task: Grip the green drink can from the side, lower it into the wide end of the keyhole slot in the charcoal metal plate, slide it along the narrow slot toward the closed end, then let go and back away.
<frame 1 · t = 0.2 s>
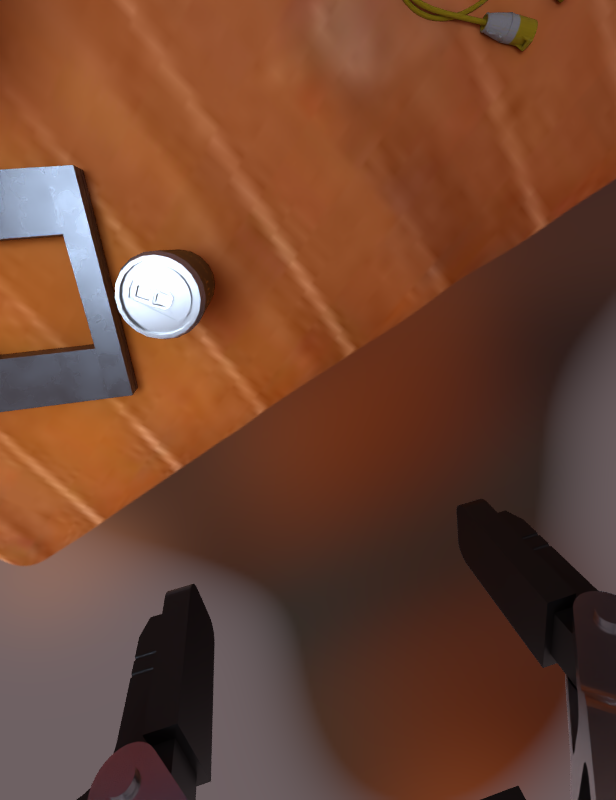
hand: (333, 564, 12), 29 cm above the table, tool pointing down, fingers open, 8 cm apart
green drink can: (184, 282, 35), on the table
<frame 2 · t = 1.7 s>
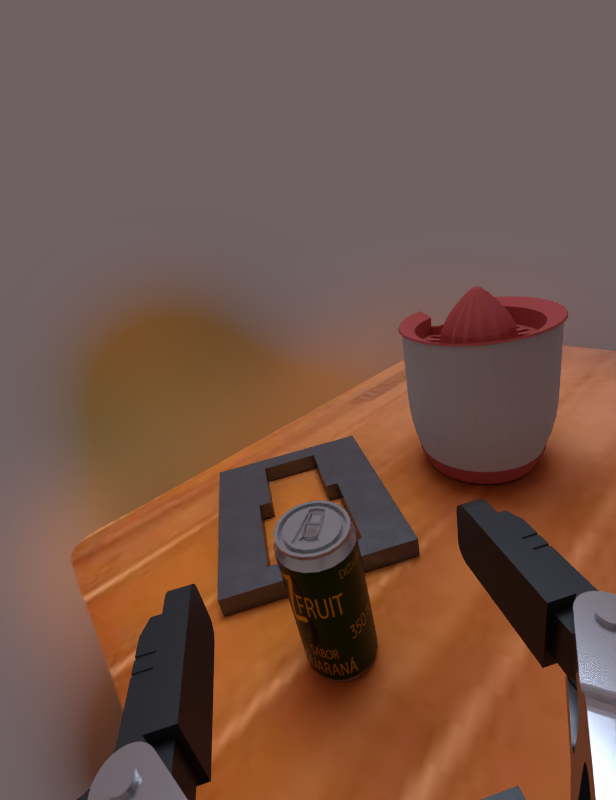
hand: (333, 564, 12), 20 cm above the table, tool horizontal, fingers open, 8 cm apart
keyhole plate: (303, 513, 45), on the table
citrus juicer: (476, 453, 49), on the table
green drink can: (342, 650, 30), on the table
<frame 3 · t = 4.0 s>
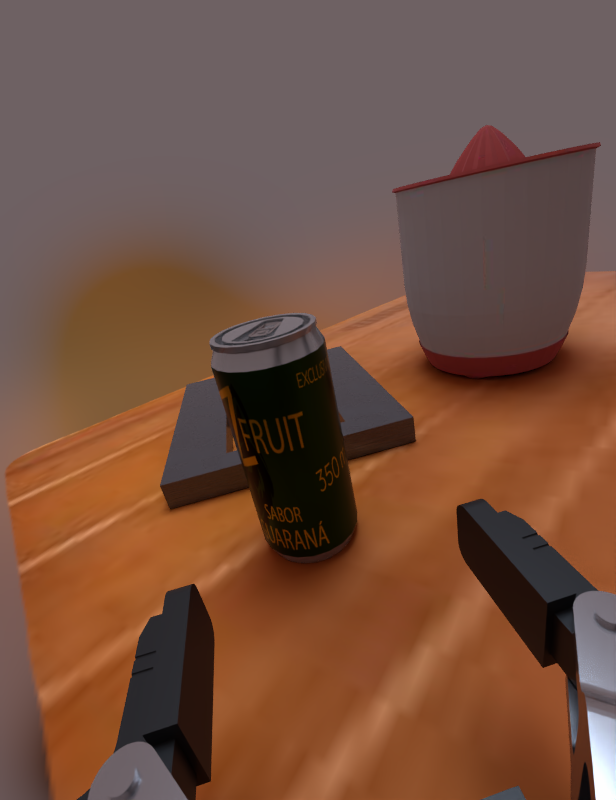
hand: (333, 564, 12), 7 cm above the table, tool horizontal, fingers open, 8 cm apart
keyhole plate: (279, 416, 38), on the table
citrus juicer: (484, 356, 41), on the table
green drink can: (313, 533, 23), on the table
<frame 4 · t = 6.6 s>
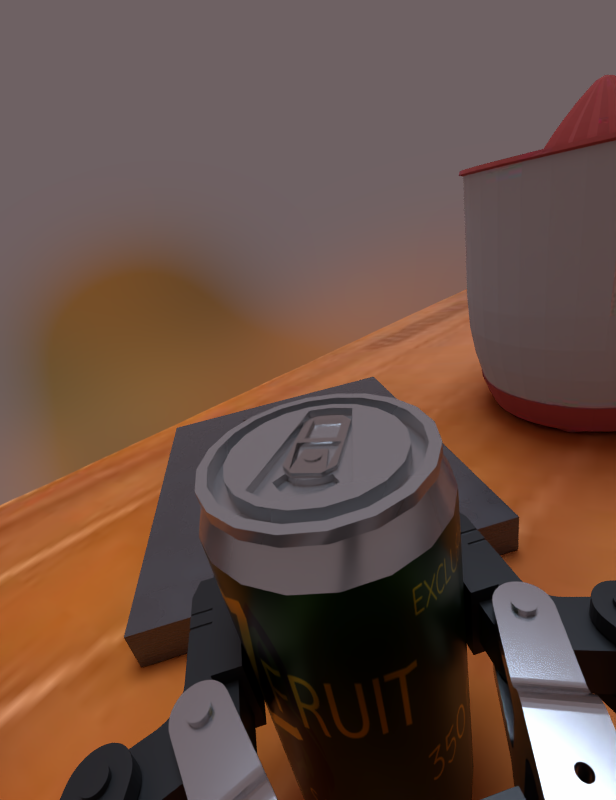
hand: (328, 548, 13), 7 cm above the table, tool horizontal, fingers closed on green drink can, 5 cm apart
keyhole plate: (301, 483, 28), on the table
citrus juicer: (568, 395, 31), on the table
green drink can: (384, 764, 13), on the table, touching gripper
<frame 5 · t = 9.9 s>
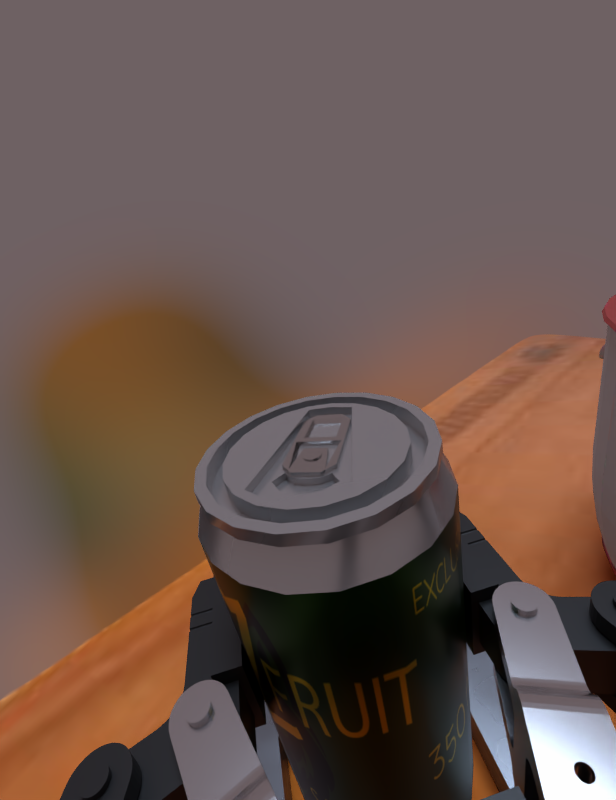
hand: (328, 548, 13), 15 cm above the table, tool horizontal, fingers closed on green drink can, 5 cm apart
keyhole plate: (379, 750, 20), on the table
green drink can: (385, 763, 13), point 8 cm above the table, touching gripper
when the fingers open (7 cm above the table, at t = 13.5 s): green drink can stays where it is, resting in keyhole plate.
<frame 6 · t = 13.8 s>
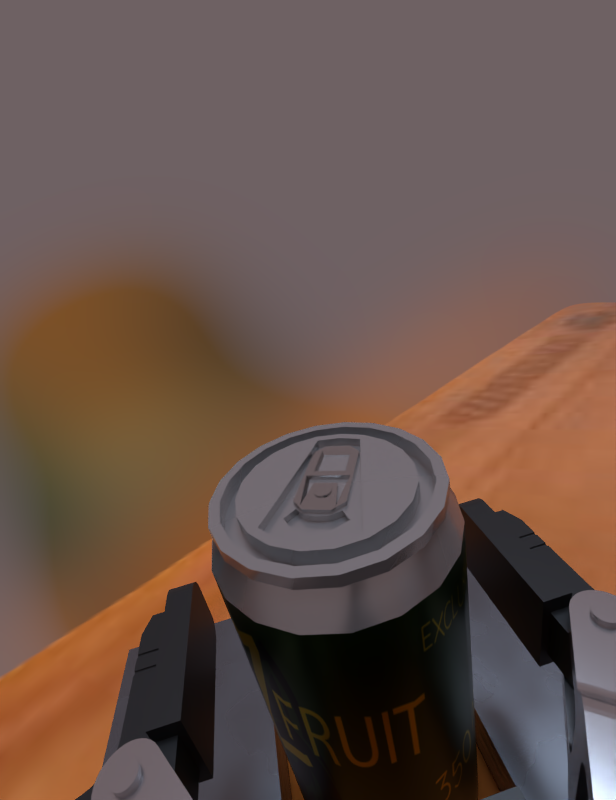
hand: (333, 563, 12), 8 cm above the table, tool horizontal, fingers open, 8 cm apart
green drink can: (390, 781, 13), resting in keyhole plate
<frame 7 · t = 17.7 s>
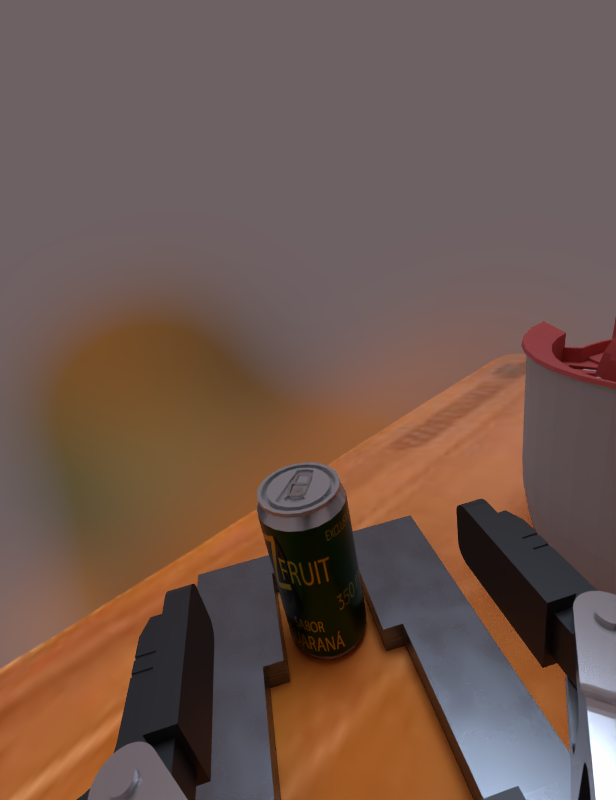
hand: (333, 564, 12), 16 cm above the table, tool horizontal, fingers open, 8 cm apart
keyhole plate: (343, 681, 25), on the table
green drink can: (329, 628, 28), resting in keyhole plate
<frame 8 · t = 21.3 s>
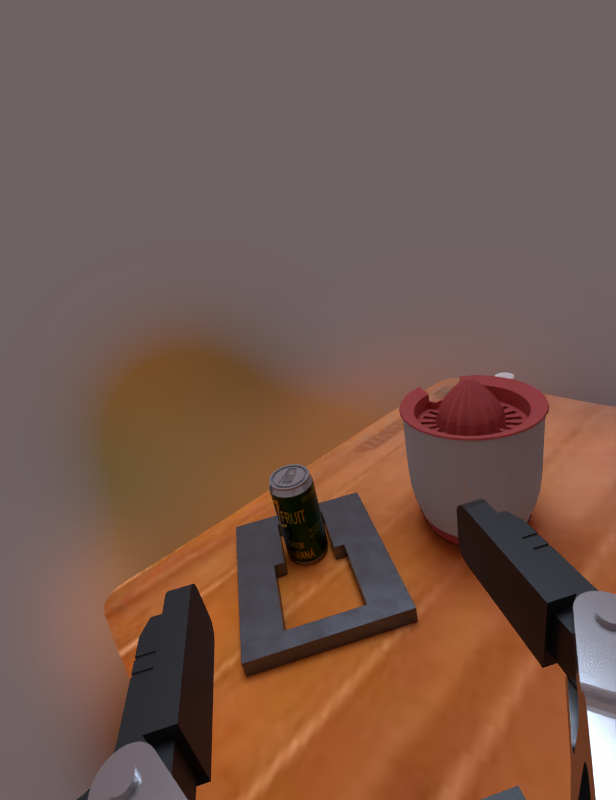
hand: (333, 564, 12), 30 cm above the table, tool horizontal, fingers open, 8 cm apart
keyhole plate: (314, 572, 50), on the table
citrus juicer: (469, 514, 54), on the table
green drink can: (309, 551, 53), resting in keyhole plate
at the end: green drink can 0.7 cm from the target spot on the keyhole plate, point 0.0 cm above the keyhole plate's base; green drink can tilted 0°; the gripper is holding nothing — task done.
